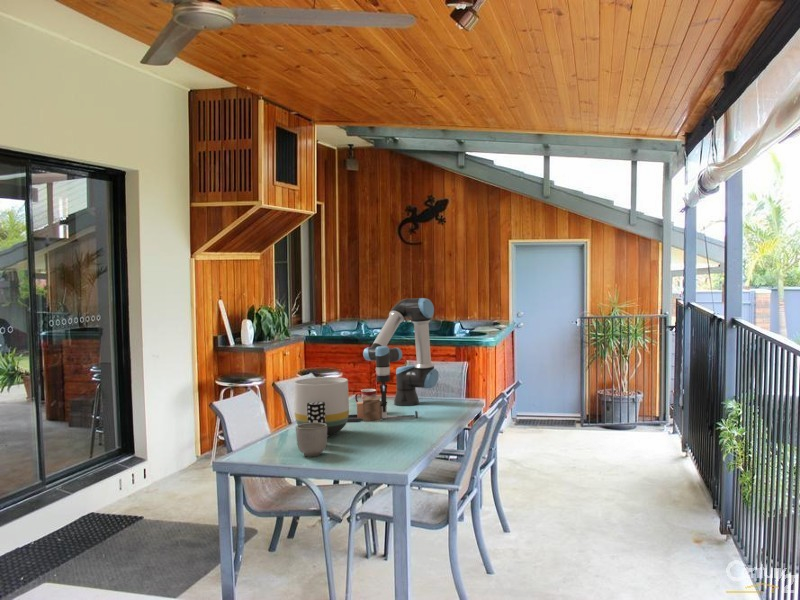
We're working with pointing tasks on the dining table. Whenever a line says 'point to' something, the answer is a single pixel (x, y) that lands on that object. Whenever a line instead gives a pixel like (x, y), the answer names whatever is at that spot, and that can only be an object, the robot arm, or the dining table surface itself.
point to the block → (360, 409)
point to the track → (400, 416)
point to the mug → (366, 393)
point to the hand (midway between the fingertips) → (384, 416)
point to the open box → (371, 408)
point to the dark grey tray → (353, 418)
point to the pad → (397, 419)
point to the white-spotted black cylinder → (316, 412)
